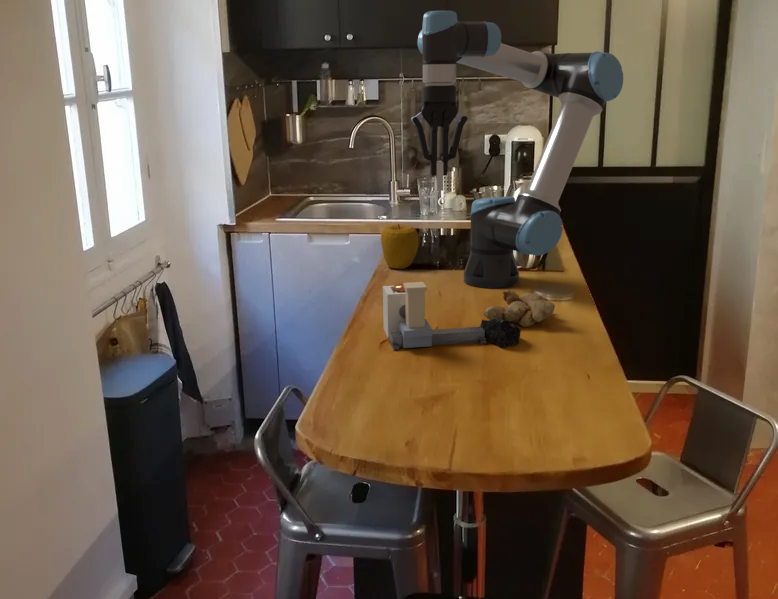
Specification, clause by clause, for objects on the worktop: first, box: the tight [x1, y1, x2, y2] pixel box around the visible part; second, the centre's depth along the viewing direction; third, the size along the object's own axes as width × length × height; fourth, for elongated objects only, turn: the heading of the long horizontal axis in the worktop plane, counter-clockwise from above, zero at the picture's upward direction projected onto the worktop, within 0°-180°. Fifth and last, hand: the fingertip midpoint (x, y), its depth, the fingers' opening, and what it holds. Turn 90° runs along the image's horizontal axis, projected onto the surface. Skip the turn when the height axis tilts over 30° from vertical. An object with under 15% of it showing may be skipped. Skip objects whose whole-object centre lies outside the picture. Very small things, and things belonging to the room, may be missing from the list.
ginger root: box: [482, 289, 555, 328], centre depth 182 cm, size 16×16×8 cm
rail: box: [388, 326, 487, 351], centre depth 169 cm, size 20×6×2 cm, turn 99°
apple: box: [380, 223, 420, 270], centre depth 232 cm, size 11×11×13 cm
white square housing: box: [382, 285, 406, 339], centre depth 174 cm, size 8×7×10 cm
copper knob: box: [393, 282, 405, 293], centre depth 173 cm, size 4×4×6 cm
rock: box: [479, 319, 522, 349], centre depth 170 cm, size 7×10×6 cm
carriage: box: [399, 281, 433, 349], centre depth 166 cm, size 6×7×13 cm
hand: (438, 189), depth 183 cm, fingers closed
